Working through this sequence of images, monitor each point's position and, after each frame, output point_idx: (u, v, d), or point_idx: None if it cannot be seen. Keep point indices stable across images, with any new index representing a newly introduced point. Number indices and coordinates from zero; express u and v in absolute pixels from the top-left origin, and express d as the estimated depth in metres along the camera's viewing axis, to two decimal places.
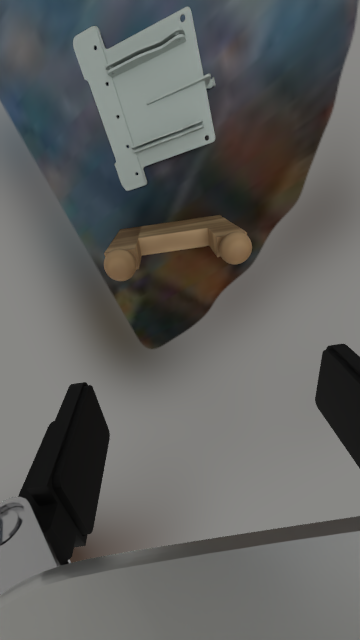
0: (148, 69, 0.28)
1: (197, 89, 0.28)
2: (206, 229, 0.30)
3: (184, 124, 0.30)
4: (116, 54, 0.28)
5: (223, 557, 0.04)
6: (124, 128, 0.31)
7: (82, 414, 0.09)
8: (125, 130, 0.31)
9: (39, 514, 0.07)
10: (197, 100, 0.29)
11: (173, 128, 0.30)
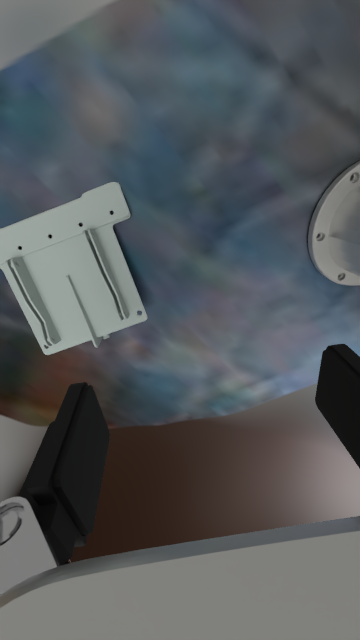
0: (98, 277, 0.25)
1: (87, 332, 0.26)
2: None
3: (55, 320, 0.26)
4: (108, 239, 0.24)
5: (223, 557, 0.04)
6: (39, 244, 0.24)
7: (82, 414, 0.09)
8: (37, 245, 0.24)
9: (39, 514, 0.07)
10: (78, 332, 0.26)
11: (49, 307, 0.26)
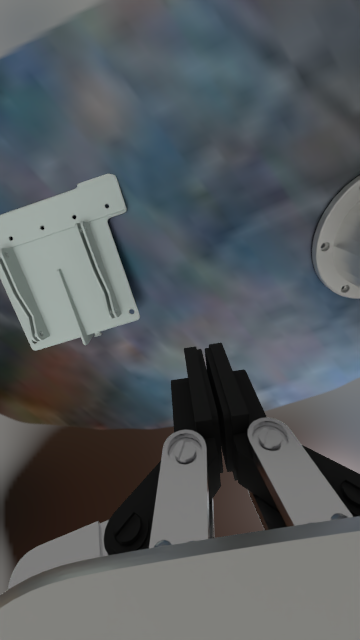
0: (91, 272, 0.24)
1: (77, 328, 0.25)
2: None
3: (44, 314, 0.25)
4: (102, 233, 0.23)
5: (223, 557, 0.04)
6: (30, 235, 0.23)
7: (206, 371, 0.10)
8: (29, 237, 0.24)
9: None
10: (68, 328, 0.26)
11: (38, 301, 0.25)
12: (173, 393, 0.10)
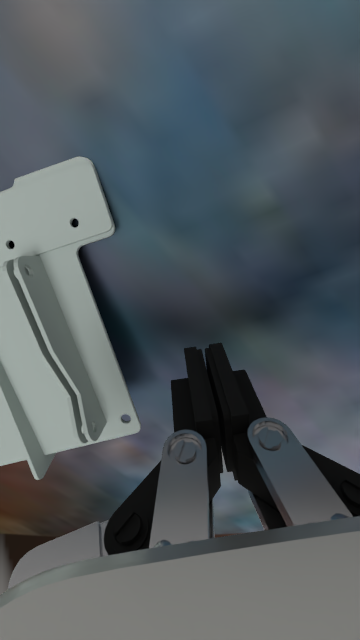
0: None
1: None
2: None
3: None
4: (68, 276, 0.12)
5: (223, 557, 0.04)
6: None
7: (206, 371, 0.10)
8: None
9: None
10: (12, 441, 0.14)
11: None
12: (173, 393, 0.10)
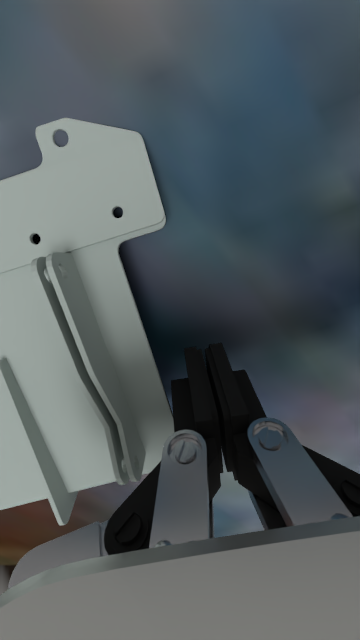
0: None
1: None
2: None
3: None
4: (105, 278, 0.10)
5: (223, 557, 0.04)
6: None
7: (206, 371, 0.10)
8: None
9: None
10: (28, 477, 0.12)
11: None
12: (173, 393, 0.10)
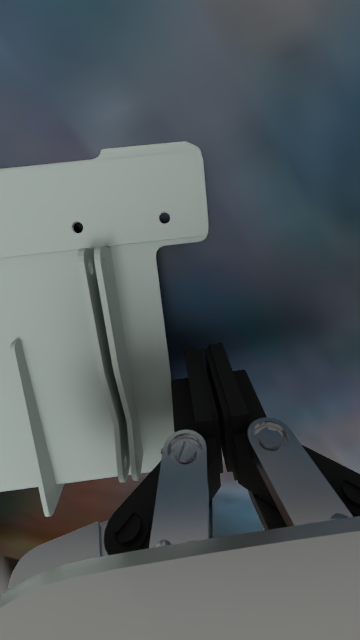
0: (93, 359, 0.10)
1: None
2: None
3: None
4: (139, 278, 0.10)
5: (223, 557, 0.04)
6: None
7: (206, 371, 0.10)
8: None
9: None
10: (16, 463, 0.11)
11: None
12: (173, 393, 0.10)
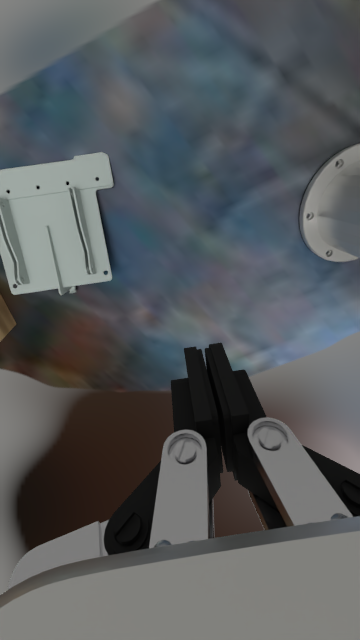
0: (75, 233, 0.28)
1: (55, 280, 0.29)
2: None
3: (27, 263, 0.29)
4: (90, 201, 0.28)
5: (223, 557, 0.04)
6: (26, 192, 0.27)
7: (206, 371, 0.10)
8: (25, 193, 0.27)
9: None
10: (47, 279, 0.29)
11: (24, 250, 0.28)
12: (173, 393, 0.10)
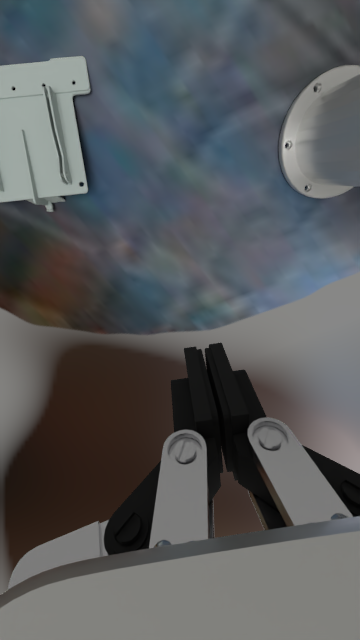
0: (51, 140, 0.28)
1: (30, 190, 0.29)
2: None
3: (2, 170, 0.28)
4: (66, 106, 0.27)
5: (223, 557, 0.04)
6: (1, 93, 0.27)
7: (206, 371, 0.10)
8: (0, 94, 0.27)
9: None
10: (22, 188, 0.29)
11: None
12: (173, 393, 0.10)
